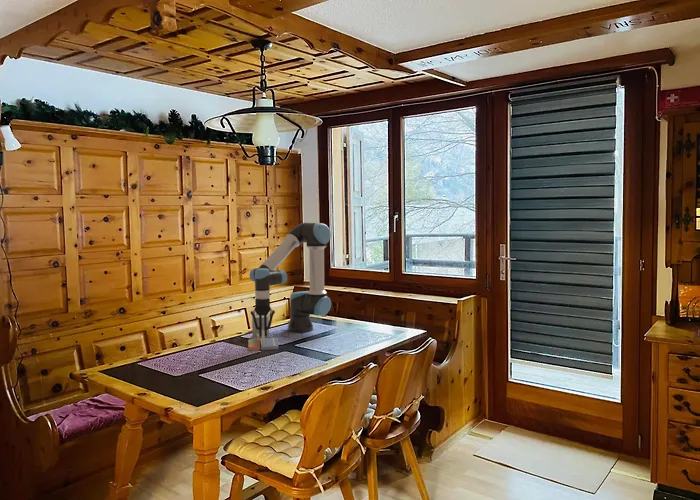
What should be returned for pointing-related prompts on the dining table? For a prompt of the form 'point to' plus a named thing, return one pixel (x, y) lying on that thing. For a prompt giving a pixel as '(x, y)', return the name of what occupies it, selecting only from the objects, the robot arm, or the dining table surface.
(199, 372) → the dining table surface
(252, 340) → the olive stub
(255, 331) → the grey cylinder
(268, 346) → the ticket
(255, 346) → the terracotta stub
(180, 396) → the dining table surface
